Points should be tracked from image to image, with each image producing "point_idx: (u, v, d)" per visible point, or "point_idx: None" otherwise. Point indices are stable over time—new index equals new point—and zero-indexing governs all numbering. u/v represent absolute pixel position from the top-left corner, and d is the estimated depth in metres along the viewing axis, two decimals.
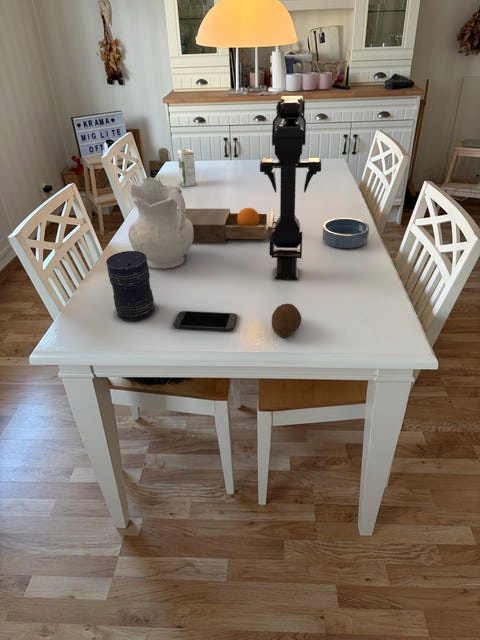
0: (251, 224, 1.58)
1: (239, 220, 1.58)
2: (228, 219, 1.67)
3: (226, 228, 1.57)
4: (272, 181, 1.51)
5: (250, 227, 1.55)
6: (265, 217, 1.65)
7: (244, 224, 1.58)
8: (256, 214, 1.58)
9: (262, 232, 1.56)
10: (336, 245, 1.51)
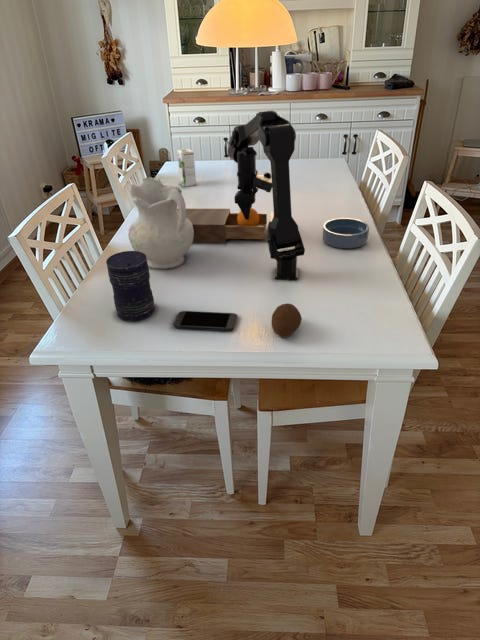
0: (251, 224, 1.58)
1: (239, 220, 1.58)
2: (228, 219, 1.67)
3: (226, 228, 1.57)
4: None
5: (250, 227, 1.55)
6: (265, 217, 1.65)
7: (244, 224, 1.58)
8: (256, 214, 1.58)
9: (262, 232, 1.56)
10: (336, 245, 1.51)
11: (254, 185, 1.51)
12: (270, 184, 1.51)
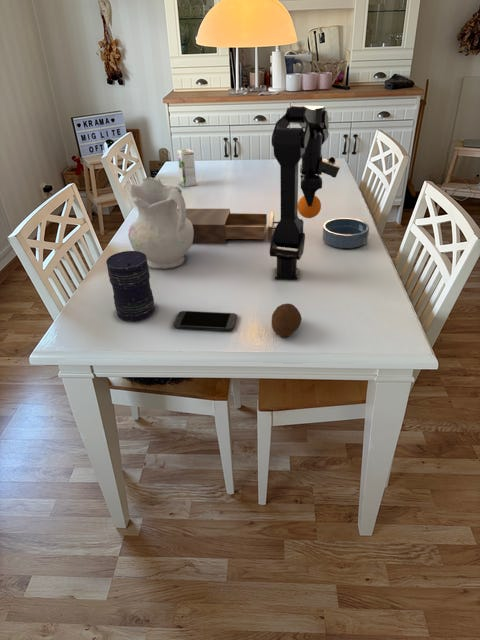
0: (313, 211, 1.50)
1: (301, 207, 1.51)
2: (228, 219, 1.67)
3: (226, 228, 1.57)
4: None
5: (250, 227, 1.55)
6: (265, 217, 1.65)
7: (306, 211, 1.50)
8: (318, 200, 1.51)
9: (262, 232, 1.56)
10: (336, 245, 1.51)
11: (320, 170, 1.44)
12: (336, 169, 1.43)
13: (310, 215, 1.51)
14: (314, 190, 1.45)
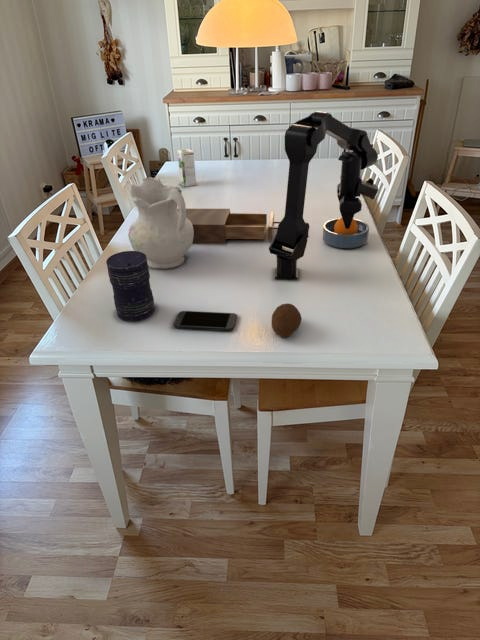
0: None
1: (337, 231, 1.52)
2: (228, 219, 1.67)
3: (226, 228, 1.57)
4: None
5: (250, 227, 1.55)
6: (265, 217, 1.65)
7: None
8: (356, 224, 1.51)
9: (262, 232, 1.56)
10: (336, 245, 1.51)
11: (358, 192, 1.44)
12: (375, 191, 1.44)
13: None
14: (353, 213, 1.44)
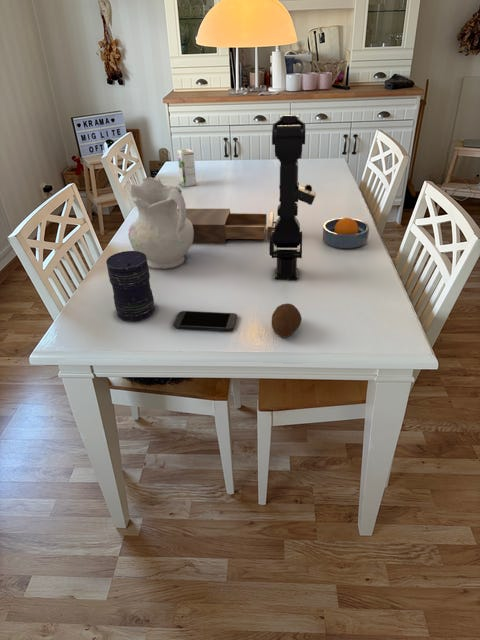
0: None
1: None
2: (228, 219, 1.67)
3: (226, 228, 1.57)
4: None
5: (250, 227, 1.55)
6: (265, 217, 1.65)
7: None
8: (356, 227, 1.50)
9: (262, 232, 1.56)
10: (336, 245, 1.51)
11: (296, 197, 1.51)
12: (312, 196, 1.51)
13: None
14: None
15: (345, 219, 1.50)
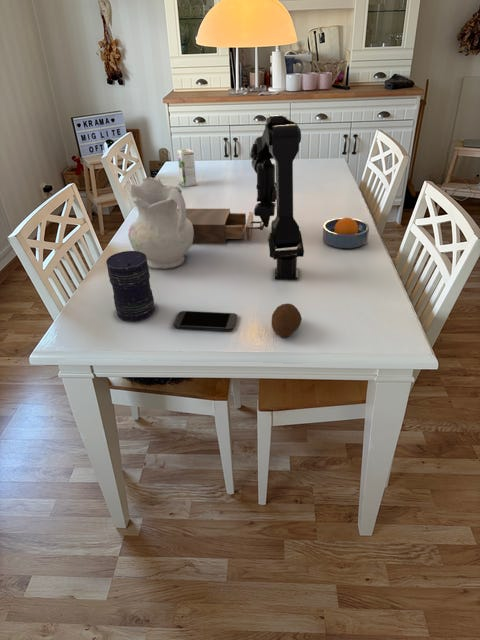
0: None
1: (338, 233, 1.51)
2: None
3: None
4: None
5: (228, 227, 1.56)
6: (244, 217, 1.66)
7: None
8: (356, 226, 1.50)
9: (240, 232, 1.57)
10: (336, 245, 1.51)
11: (273, 197, 1.52)
12: None
13: None
14: None
15: (345, 219, 1.51)
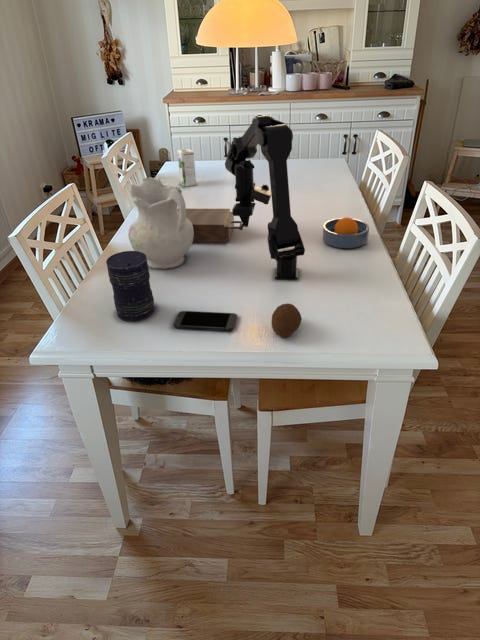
0: None
1: (338, 233, 1.51)
2: None
3: None
4: None
5: None
6: None
7: None
8: (356, 226, 1.50)
9: None
10: (336, 245, 1.51)
11: (252, 197, 1.53)
12: (267, 196, 1.53)
13: None
14: None
15: (345, 218, 1.51)
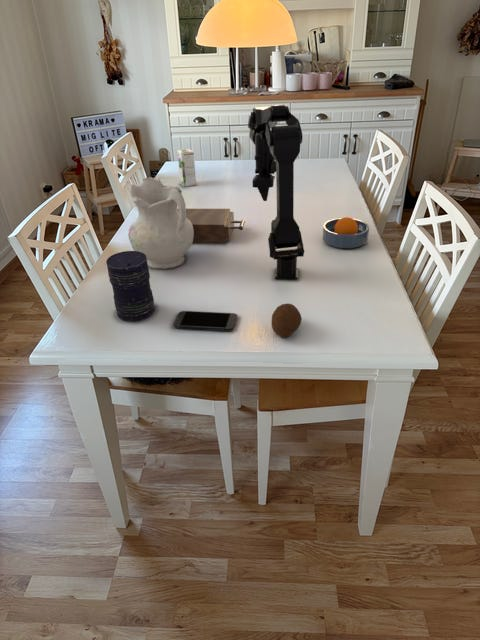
0: None
1: (338, 232, 1.51)
2: None
3: None
4: None
5: None
6: None
7: None
8: (356, 225, 1.51)
9: None
10: (336, 245, 1.51)
11: (272, 169, 1.47)
12: None
13: None
14: None
15: (345, 218, 1.51)
